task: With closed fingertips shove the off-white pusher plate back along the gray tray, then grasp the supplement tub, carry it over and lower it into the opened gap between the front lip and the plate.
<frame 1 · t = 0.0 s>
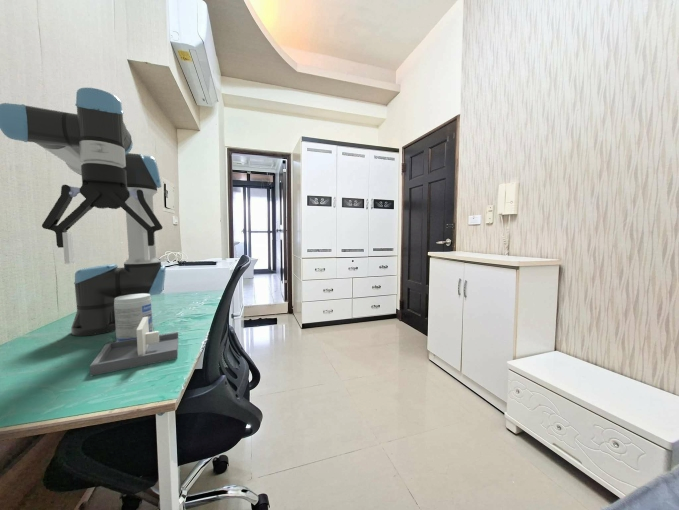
hand: (110, 261, 60), 28 cm above the table, fingers open, 13 cm apart
gray tray: (141, 354, 76), on the table
supplement tub: (135, 341, 87), on the table
pusher: (149, 335, 77), point 5 cm above the table, slide at 0.0 cm
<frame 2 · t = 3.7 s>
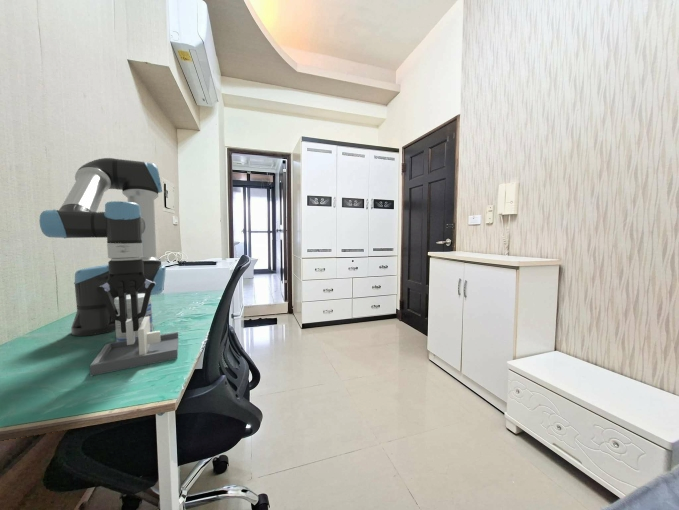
hand: (131, 342, 75), 4 cm above the table, fingers closed
pusher: (151, 335, 77), point 5 cm above the table, slide at 0.3 cm, touching gripper
everything else where it was.
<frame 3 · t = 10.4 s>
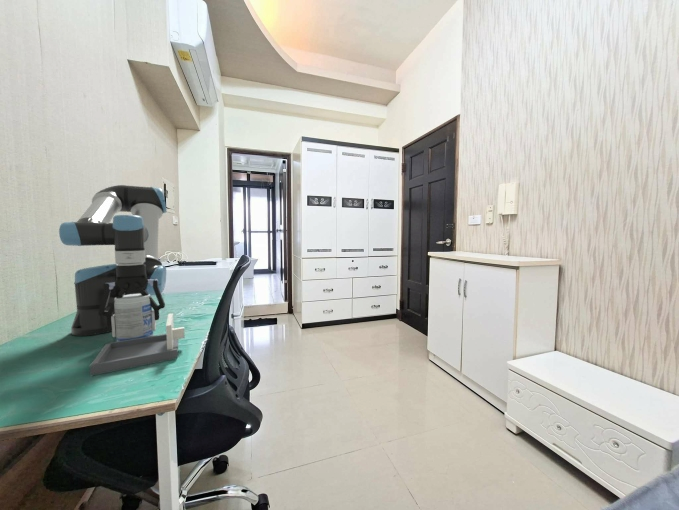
hand: (135, 332, 86), 3 cm above the table, fingers closed on supplement tub, 9 cm apart
supplement tub: (135, 341, 87), on the table, touching gripper
pusher: (176, 331, 80), point 5 cm above the table, slide at 6.5 cm
when the fingers open (5 cm above the table, at t = 16.7 s): supplement tub drops 1 cm, resting on gray tray.
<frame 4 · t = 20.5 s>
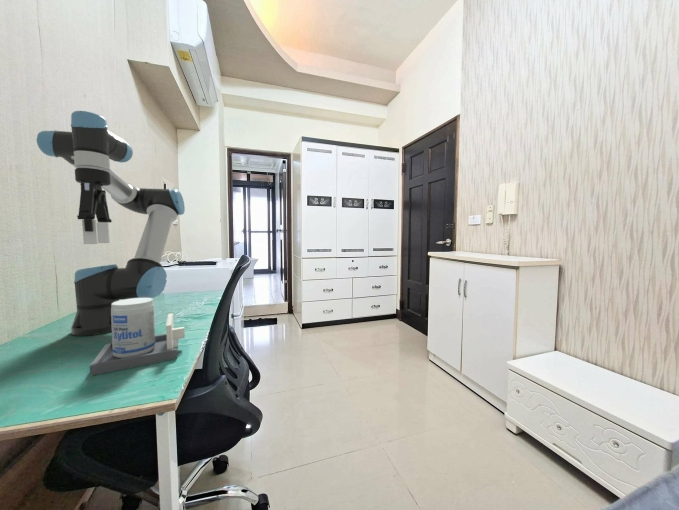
hand: (97, 243, 78), 32 cm above the table, fingers open, 13 cm apart
supplement tub: (135, 352, 76), point 1 cm above the table, touching gray tray
everything else where it was.
at the end: supplement tub inside the target area on the gray tray (0.3 cm from its centre), point 0.8 cm above the gray tray's base; supplement tub tilted 0°; pusher slide at 6.5 cm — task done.
